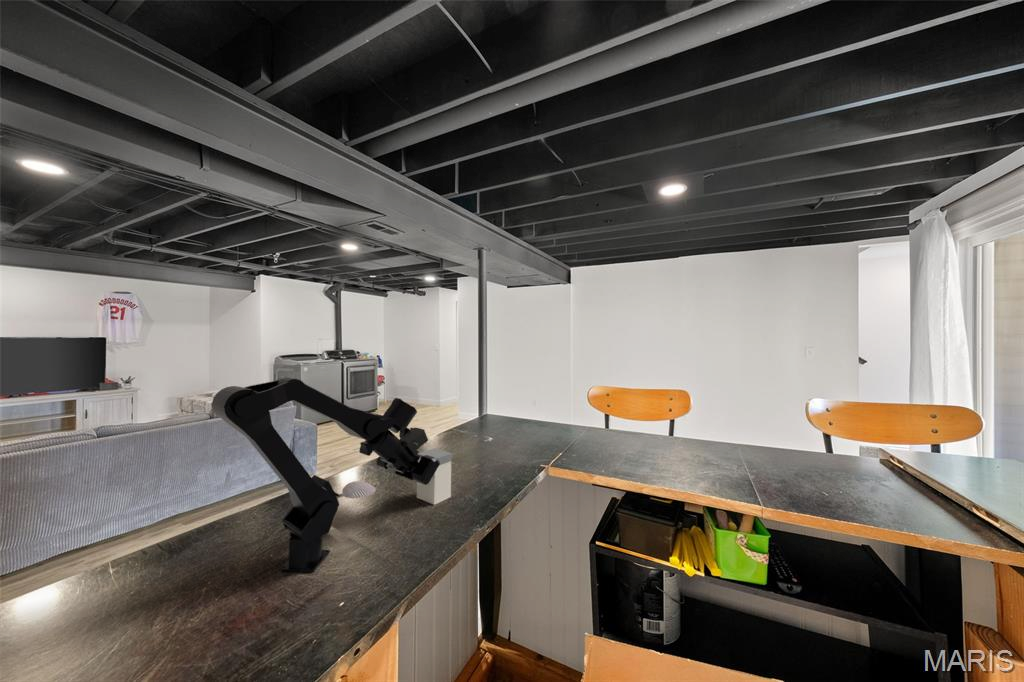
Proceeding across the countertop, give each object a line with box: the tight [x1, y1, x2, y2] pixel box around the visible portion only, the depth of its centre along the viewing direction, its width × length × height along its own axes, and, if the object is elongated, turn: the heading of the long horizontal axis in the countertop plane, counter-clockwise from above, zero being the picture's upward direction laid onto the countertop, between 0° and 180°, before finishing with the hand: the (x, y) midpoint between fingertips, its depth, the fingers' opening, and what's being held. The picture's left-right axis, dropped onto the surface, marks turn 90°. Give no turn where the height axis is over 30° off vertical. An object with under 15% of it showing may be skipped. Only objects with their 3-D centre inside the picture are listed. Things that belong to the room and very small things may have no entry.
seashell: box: [341, 480, 376, 499], centre depth 103 cm, size 10×6×10 cm
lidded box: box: [416, 448, 453, 505], centre depth 100 cm, size 6×7×12 cm
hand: (424, 479), depth 97 cm, fingers closed, pressing on lidded box
